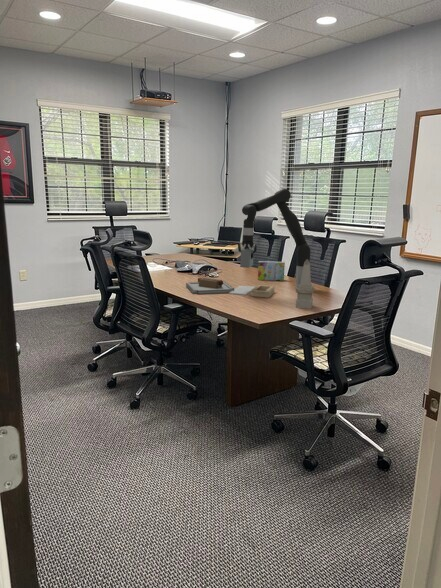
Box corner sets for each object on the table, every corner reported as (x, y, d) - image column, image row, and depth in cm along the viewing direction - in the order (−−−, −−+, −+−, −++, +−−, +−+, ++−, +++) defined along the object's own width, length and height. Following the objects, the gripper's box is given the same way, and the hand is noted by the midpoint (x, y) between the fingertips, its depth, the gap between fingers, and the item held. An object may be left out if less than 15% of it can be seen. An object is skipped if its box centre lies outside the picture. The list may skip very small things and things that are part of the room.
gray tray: (193, 295, 299) (193, 284, 297) (185, 286, 327) (185, 276, 326) (235, 293, 307) (235, 283, 305) (223, 285, 335) (224, 275, 333)
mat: (255, 288, 323) (255, 286, 323) (245, 295, 299) (245, 294, 299) (239, 286, 327) (240, 285, 327) (229, 293, 303) (229, 292, 303)
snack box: (283, 279, 358) (284, 261, 355) (283, 281, 352) (284, 262, 349) (257, 278, 360) (258, 260, 357) (257, 280, 354) (258, 261, 351)
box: (252, 265, 312) (253, 248, 309) (248, 267, 301) (249, 250, 298) (244, 264, 314) (245, 247, 311) (240, 267, 302) (240, 249, 300)
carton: (274, 292, 312) (275, 285, 311) (268, 298, 293) (268, 291, 292) (258, 290, 316) (258, 284, 315) (250, 296, 297) (250, 290, 296)
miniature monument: (312, 308, 268) (315, 260, 261) (294, 307, 270) (297, 259, 263) (313, 304, 277) (316, 258, 271) (296, 303, 280) (299, 257, 273)
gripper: (259, 234, 303) (258, 258, 307) (239, 233, 308) (238, 256, 312) (256, 235, 296) (255, 259, 300) (236, 234, 301) (235, 258, 305)
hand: (247, 258), depth 306 cm, fingers closed on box, 6 cm apart
